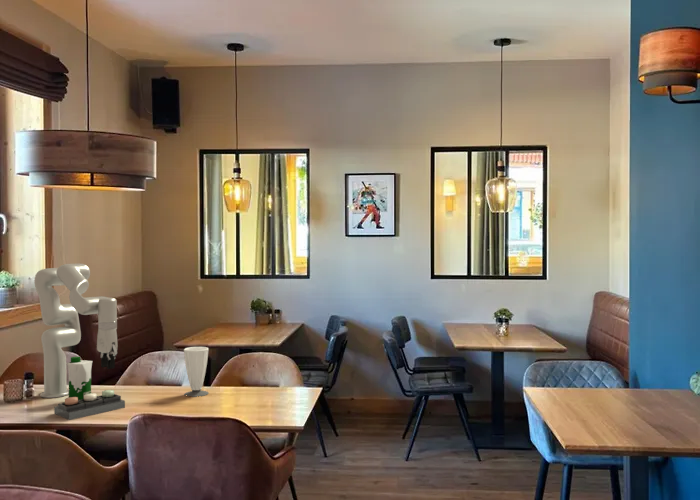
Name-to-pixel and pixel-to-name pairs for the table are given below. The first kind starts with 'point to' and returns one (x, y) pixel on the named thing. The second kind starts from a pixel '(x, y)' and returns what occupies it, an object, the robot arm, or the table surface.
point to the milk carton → (79, 377)
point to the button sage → (108, 393)
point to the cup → (196, 369)
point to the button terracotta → (71, 400)
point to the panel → (89, 407)
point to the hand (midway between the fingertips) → (107, 367)
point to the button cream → (90, 397)
